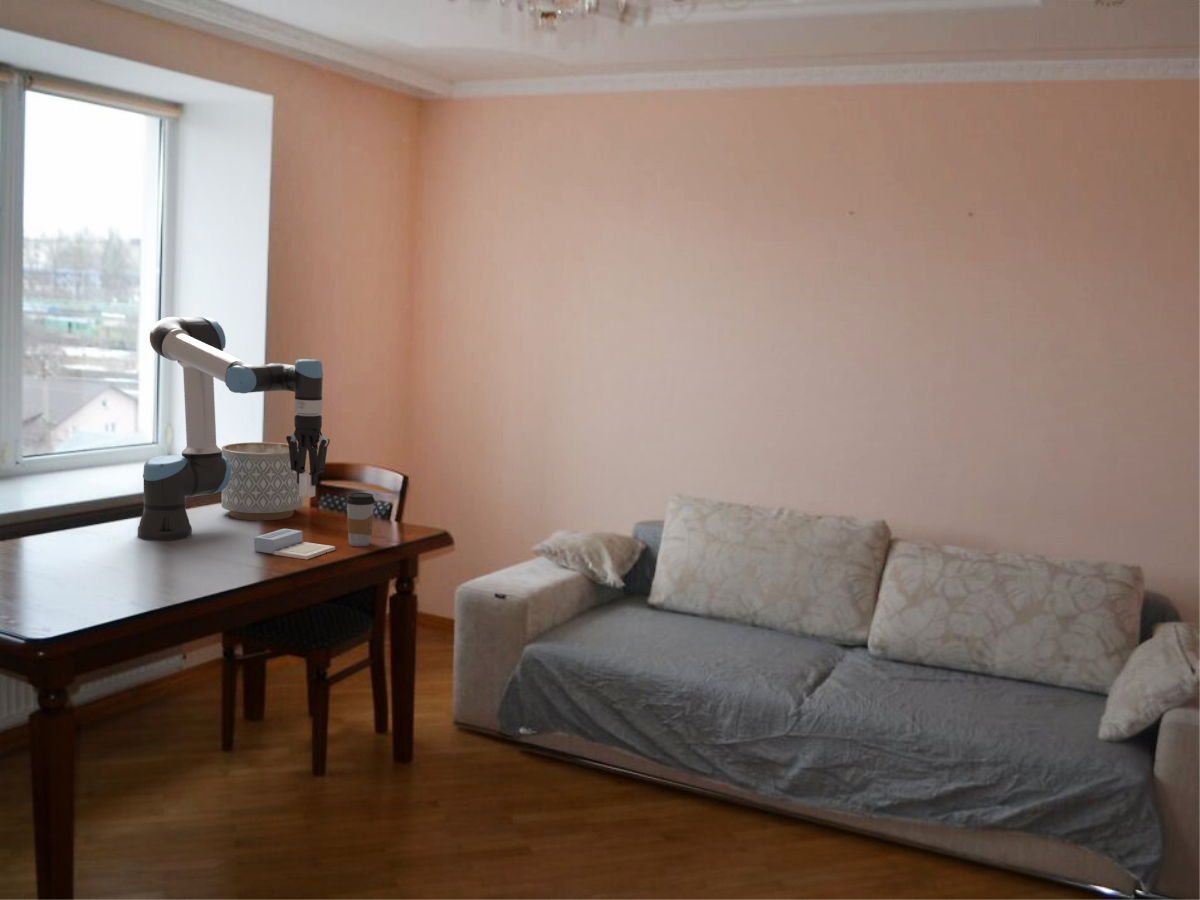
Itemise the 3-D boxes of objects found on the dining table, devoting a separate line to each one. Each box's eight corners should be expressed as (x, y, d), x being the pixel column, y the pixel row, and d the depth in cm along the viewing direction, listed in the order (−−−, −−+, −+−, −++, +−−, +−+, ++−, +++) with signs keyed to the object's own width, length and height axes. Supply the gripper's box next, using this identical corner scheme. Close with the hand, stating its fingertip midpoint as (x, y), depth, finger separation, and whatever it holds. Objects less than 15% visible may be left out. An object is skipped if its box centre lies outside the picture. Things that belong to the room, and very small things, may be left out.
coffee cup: (367, 548, 336) (368, 498, 334) (340, 545, 338) (341, 496, 336) (378, 542, 344) (379, 493, 342) (352, 540, 346) (353, 491, 344)
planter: (317, 513, 383) (318, 447, 380) (266, 525, 360) (267, 456, 357) (257, 503, 393) (258, 440, 390) (204, 515, 370) (204, 447, 367)
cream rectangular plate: (273, 554, 323) (273, 550, 323) (303, 545, 336) (303, 541, 336) (306, 559, 319) (306, 555, 319) (335, 549, 332) (335, 546, 332)
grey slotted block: (254, 550, 325) (254, 536, 325) (284, 541, 338) (284, 528, 338) (273, 553, 323) (273, 539, 323) (302, 544, 336) (302, 530, 336)
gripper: (277, 413, 321) (276, 495, 324) (323, 417, 316) (322, 501, 319) (293, 410, 328) (292, 491, 331) (338, 415, 323) (337, 496, 326)
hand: (307, 495), depth 325 cm, fingers open, 2 cm apart
